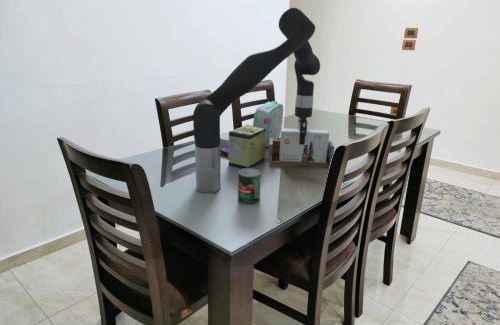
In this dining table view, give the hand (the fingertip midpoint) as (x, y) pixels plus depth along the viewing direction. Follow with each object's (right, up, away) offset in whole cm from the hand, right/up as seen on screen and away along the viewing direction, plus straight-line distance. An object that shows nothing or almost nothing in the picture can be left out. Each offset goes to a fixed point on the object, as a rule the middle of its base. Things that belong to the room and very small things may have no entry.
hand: (301, 141), depth 160 cm
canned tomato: (-23, -23, -33) cm, 46 cm away
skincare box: (+1, -10, +3) cm, 11 cm away
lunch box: (-14, +2, +33) cm, 36 cm away
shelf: (0, -10, +4) cm, 10 cm away
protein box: (-24, -10, +3) cm, 26 cm away
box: (-36, -4, +19) cm, 41 cm away
